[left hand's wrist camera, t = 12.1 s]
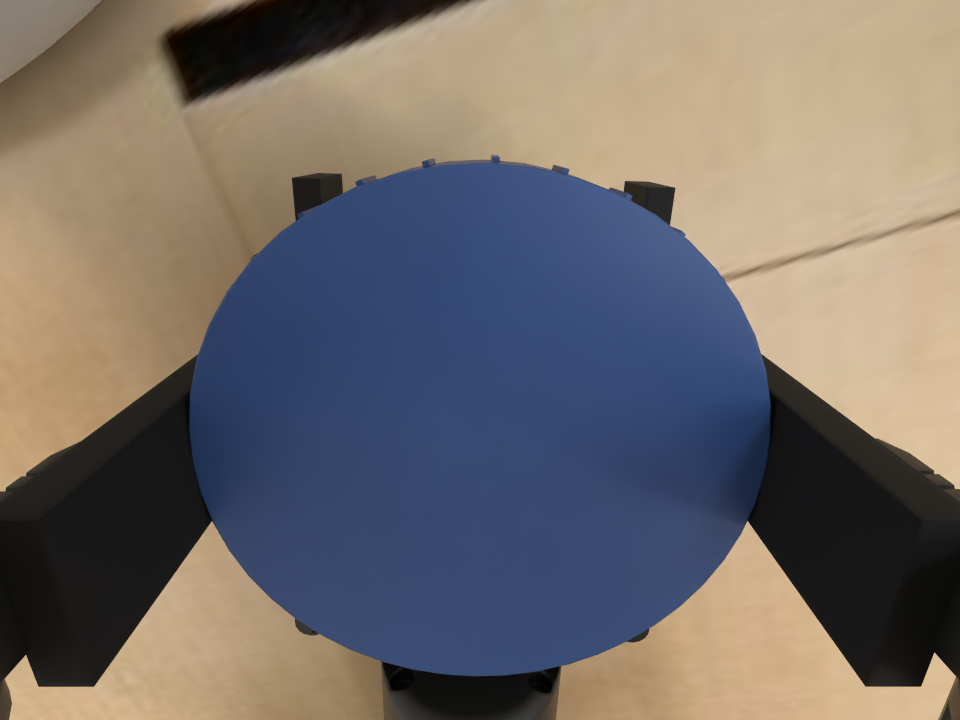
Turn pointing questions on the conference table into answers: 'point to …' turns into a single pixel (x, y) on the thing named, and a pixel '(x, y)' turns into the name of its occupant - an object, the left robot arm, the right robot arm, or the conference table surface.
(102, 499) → the left robot arm
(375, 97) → the conference table surface
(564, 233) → the lid
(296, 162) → the conference table surface
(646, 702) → the conference table surface
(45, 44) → the projector
